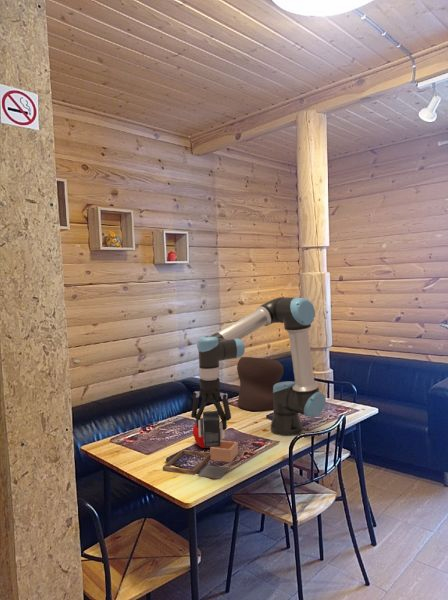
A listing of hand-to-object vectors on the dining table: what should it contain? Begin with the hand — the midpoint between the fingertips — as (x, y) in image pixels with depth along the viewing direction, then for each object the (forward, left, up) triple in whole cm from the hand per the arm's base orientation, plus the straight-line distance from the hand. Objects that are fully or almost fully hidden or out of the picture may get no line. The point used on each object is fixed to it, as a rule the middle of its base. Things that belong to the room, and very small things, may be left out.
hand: (211, 436), depth 169 cm
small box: (0, 0, -2) cm, 2 cm away
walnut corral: (+13, -5, -14) cm, 20 cm away
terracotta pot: (+1, -15, -14) cm, 21 cm away
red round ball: (+13, -25, -14) cm, 32 cm away
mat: (0, 0, -14) cm, 14 cm away
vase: (+6, -89, -14) cm, 90 cm away
